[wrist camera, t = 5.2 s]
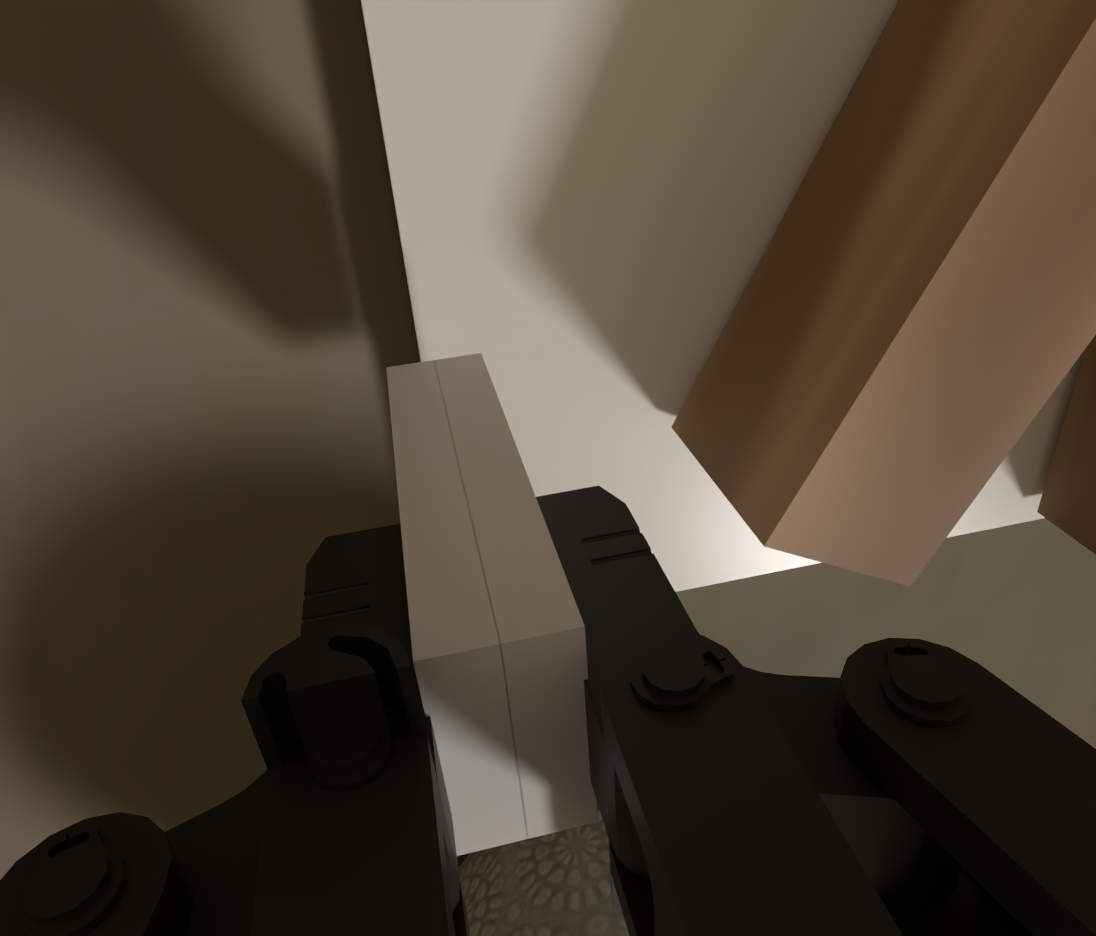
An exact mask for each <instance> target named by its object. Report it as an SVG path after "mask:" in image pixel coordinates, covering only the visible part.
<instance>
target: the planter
mask: <svg viewBox="0 0 1096 936" xmlns="http://www.w3.org/2000/svg"><path fill="white" fill-rule="evenodd" d="M596 805H597V820H598V822H596V823H591V824H587V825H583V826H579V827H575V828H571V829H567V830H563V831H558V832H554V833H550V834H546V835H542V836H538V837H534V838H530V839H526V840H521V841H517V842H513V843H509V844H505V845H501V846H497V847H493V848H488V849H484V850H480V851H476V852H472V853H469V854H468V855H467V857H466V858H465V859H464V861H463V862H462V863H461V865H460V866H459V867H458V870H459V878H460V884H461V888H462V893H463V897H464V902H465V906H466V910H467V918H468V925H469V933H470V936H629V933H628V929H627V926H626V922H625V919H624V916H620V917H617V918H613V906H612V893H611V875H610V857H609V839H608V835H607V832H606V829H605V825H604V822H603V819H602V816H601V813H600V809H599V806H598V803H597V800H596Z"/></svg>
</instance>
